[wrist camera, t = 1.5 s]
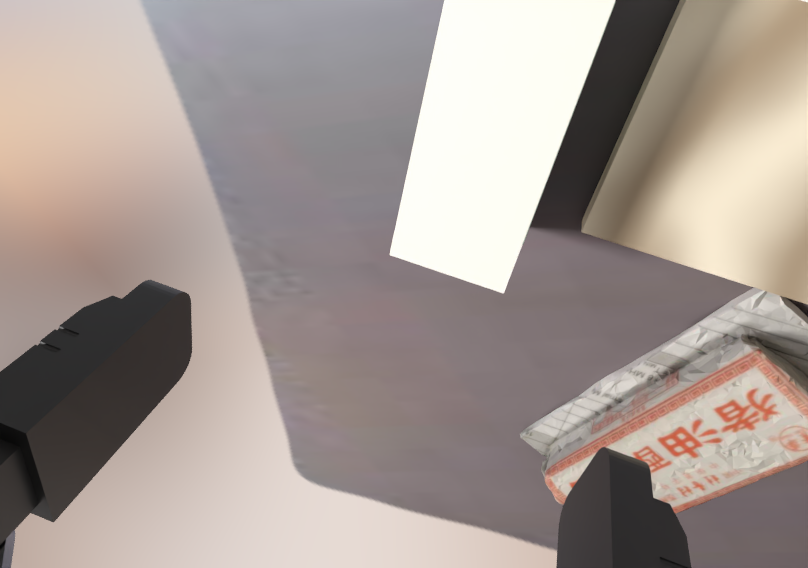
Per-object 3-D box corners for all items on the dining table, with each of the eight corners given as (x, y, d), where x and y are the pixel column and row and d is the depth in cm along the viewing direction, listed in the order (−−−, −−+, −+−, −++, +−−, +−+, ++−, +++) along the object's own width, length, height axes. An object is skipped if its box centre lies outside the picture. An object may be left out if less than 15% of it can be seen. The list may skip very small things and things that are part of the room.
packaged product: (624, 568, 36) (511, 479, 35) (623, 505, 40) (520, 424, 39) (933, 459, 26) (787, 328, 25) (891, 389, 30) (763, 272, 29)
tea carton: (634, -69, 22) (643, -65, 17) (523, 225, 31) (505, 294, 25) (501, -102, 23) (467, -108, 18) (427, 194, 31) (389, 254, 26)
